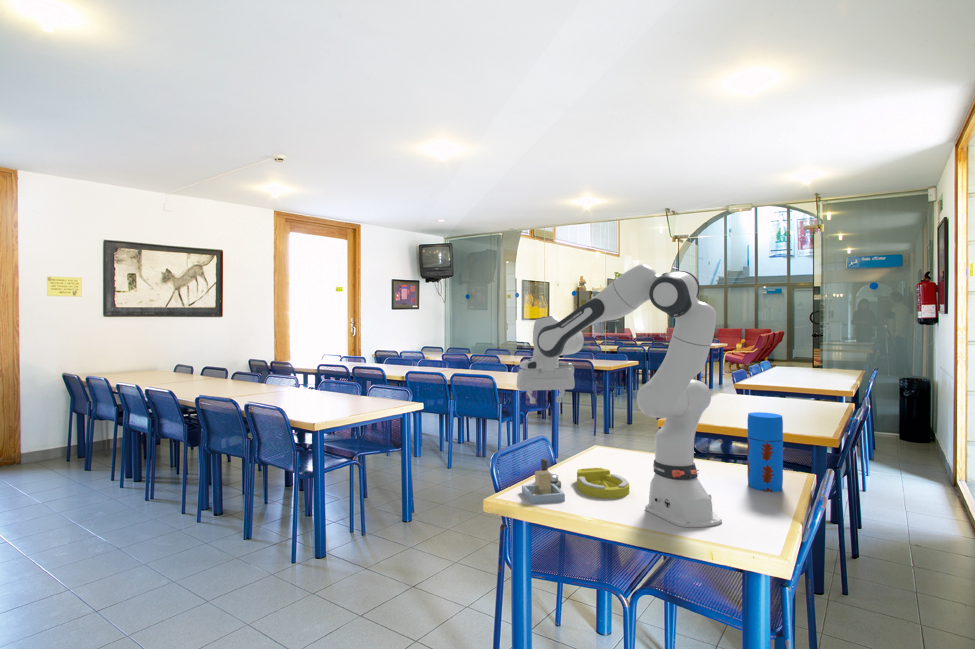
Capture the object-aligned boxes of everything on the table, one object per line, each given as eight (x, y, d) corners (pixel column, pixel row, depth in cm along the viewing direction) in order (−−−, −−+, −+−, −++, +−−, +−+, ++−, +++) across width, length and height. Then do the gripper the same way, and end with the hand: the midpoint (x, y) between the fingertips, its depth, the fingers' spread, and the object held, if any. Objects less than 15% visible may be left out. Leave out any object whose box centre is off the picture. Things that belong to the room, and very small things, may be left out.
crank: (560, 482, 181) (559, 466, 181) (547, 483, 180) (547, 467, 180) (549, 473, 192) (549, 458, 192) (537, 474, 191) (537, 459, 191)
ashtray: (610, 480, 193) (610, 466, 193) (638, 499, 173) (638, 484, 173) (567, 483, 190) (567, 469, 190) (590, 503, 169) (590, 487, 169)
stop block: (550, 498, 171) (550, 473, 171) (538, 499, 170) (538, 474, 170) (546, 494, 175) (546, 470, 175) (535, 495, 174) (535, 471, 174)
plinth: (563, 491, 180) (563, 484, 180) (519, 494, 177) (519, 487, 177) (557, 485, 186) (557, 478, 186) (514, 488, 183) (514, 481, 183)
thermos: (750, 490, 180) (750, 416, 180) (745, 481, 190) (744, 411, 190) (786, 493, 177) (786, 418, 176) (779, 484, 187) (779, 413, 187)
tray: (564, 503, 168) (564, 493, 168) (531, 505, 166) (531, 496, 166) (553, 492, 179) (553, 483, 179) (521, 494, 177) (521, 485, 177)
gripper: (570, 361, 190) (571, 400, 190) (515, 362, 186) (515, 402, 186) (577, 363, 184) (577, 403, 184) (520, 364, 180) (520, 405, 180)
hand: (545, 402), depth 185 cm, fingers open, 8 cm apart
